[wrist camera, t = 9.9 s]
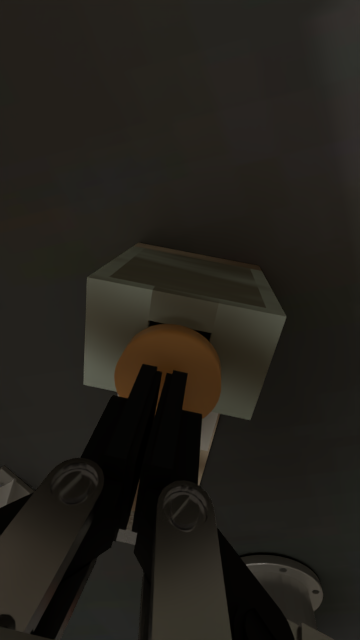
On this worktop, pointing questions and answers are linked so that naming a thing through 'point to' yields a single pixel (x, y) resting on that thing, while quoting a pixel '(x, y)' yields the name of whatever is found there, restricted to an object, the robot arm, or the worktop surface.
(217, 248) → the worktop surface
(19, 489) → the skyscraper
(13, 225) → the worktop surface
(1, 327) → the worktop surface
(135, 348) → the button
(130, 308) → the rail base
